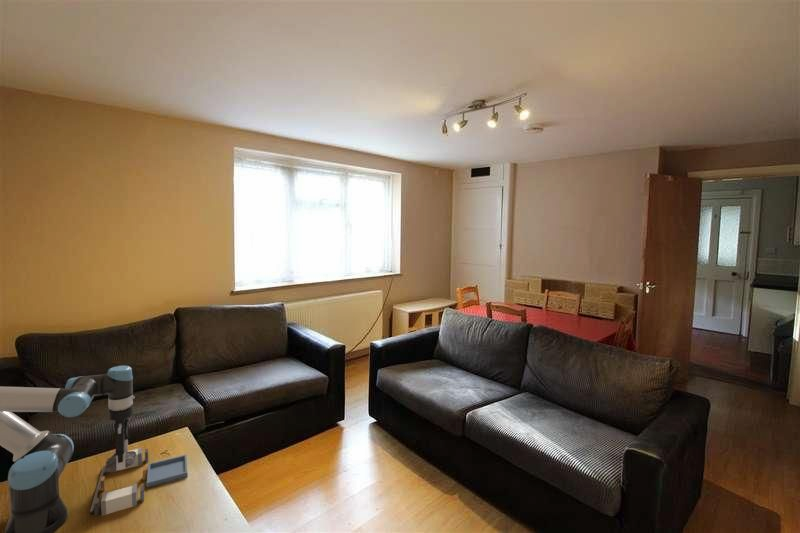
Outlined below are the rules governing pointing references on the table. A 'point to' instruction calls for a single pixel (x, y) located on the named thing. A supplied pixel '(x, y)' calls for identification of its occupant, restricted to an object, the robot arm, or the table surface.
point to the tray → (167, 470)
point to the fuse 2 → (119, 499)
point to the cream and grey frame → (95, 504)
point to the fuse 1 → (136, 458)
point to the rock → (112, 461)
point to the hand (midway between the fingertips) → (122, 462)
